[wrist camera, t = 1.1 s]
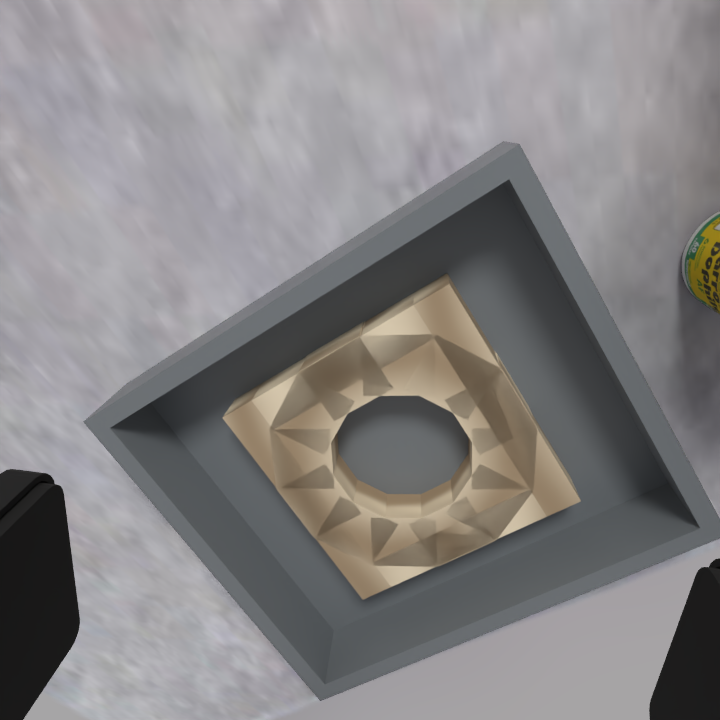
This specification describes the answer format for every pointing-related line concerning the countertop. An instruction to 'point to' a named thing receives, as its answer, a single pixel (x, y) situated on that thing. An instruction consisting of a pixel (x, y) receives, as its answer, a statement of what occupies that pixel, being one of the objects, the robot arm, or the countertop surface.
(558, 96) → the countertop surface
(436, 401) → the bore plate
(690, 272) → the supplement bottle
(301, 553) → the open box
